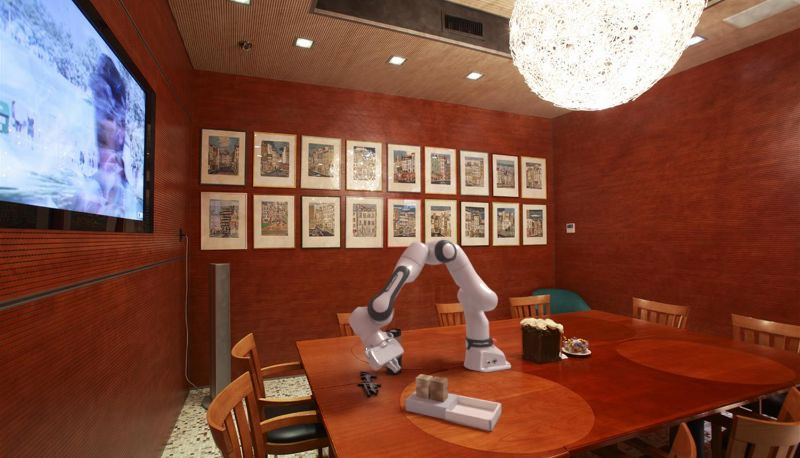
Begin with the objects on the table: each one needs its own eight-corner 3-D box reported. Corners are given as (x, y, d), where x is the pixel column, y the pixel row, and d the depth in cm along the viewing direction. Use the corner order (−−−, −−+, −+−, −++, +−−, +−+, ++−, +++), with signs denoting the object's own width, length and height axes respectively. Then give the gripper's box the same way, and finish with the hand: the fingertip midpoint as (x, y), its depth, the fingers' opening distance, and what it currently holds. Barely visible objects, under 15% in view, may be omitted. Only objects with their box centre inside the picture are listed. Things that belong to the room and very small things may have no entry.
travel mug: (400, 375, 172) (399, 332, 172) (384, 374, 173) (383, 331, 174) (403, 369, 179) (402, 328, 180) (388, 369, 181) (387, 327, 182)
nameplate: (352, 372, 174) (373, 369, 177) (352, 375, 174) (373, 373, 177) (362, 395, 148) (386, 392, 151) (362, 399, 148) (386, 396, 151)
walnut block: (430, 399, 136) (430, 380, 136) (435, 395, 140) (435, 376, 140) (443, 402, 134) (443, 382, 134) (448, 397, 138) (447, 378, 138)
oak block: (416, 396, 139) (415, 377, 139) (421, 392, 143) (420, 374, 143) (428, 399, 137) (427, 380, 137) (433, 394, 141) (432, 376, 141)
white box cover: (405, 410, 137) (405, 399, 137) (419, 397, 147) (419, 387, 147) (446, 419, 129) (446, 408, 129) (458, 405, 140) (457, 395, 140)
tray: (445, 420, 128) (445, 410, 128) (459, 404, 141) (458, 395, 141) (491, 431, 121) (491, 420, 121) (501, 413, 133) (501, 403, 133)
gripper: (366, 344, 140) (389, 374, 135) (393, 332, 158) (414, 358, 153) (357, 354, 142) (379, 384, 137) (384, 341, 160) (405, 367, 155)
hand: (398, 370), depth 145 cm, fingers closed
